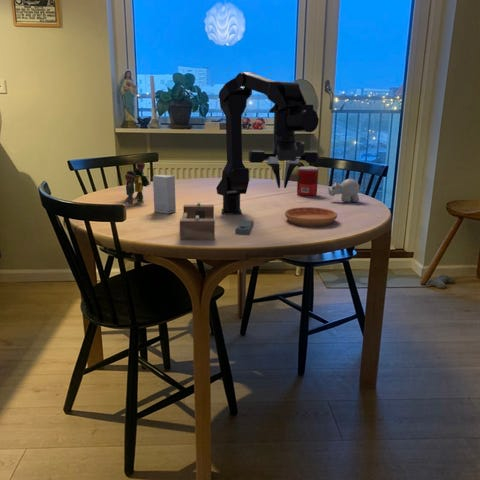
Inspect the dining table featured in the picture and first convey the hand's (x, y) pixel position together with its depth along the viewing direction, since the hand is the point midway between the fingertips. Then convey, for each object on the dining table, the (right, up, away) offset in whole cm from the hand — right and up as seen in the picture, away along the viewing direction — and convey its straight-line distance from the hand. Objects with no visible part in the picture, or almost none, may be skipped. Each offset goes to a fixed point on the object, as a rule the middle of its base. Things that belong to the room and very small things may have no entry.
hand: (281, 187), depth 128 cm
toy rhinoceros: (+27, 0, +45) cm, 52 cm away
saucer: (+10, -9, +14) cm, 19 cm away
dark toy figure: (-50, 0, +41) cm, 64 cm away
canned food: (+15, +3, +56) cm, 59 cm away
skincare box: (-37, -5, +23) cm, 44 cm away
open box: (-23, -12, +2) cm, 26 cm away
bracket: (-10, -12, +3) cm, 16 cm away
